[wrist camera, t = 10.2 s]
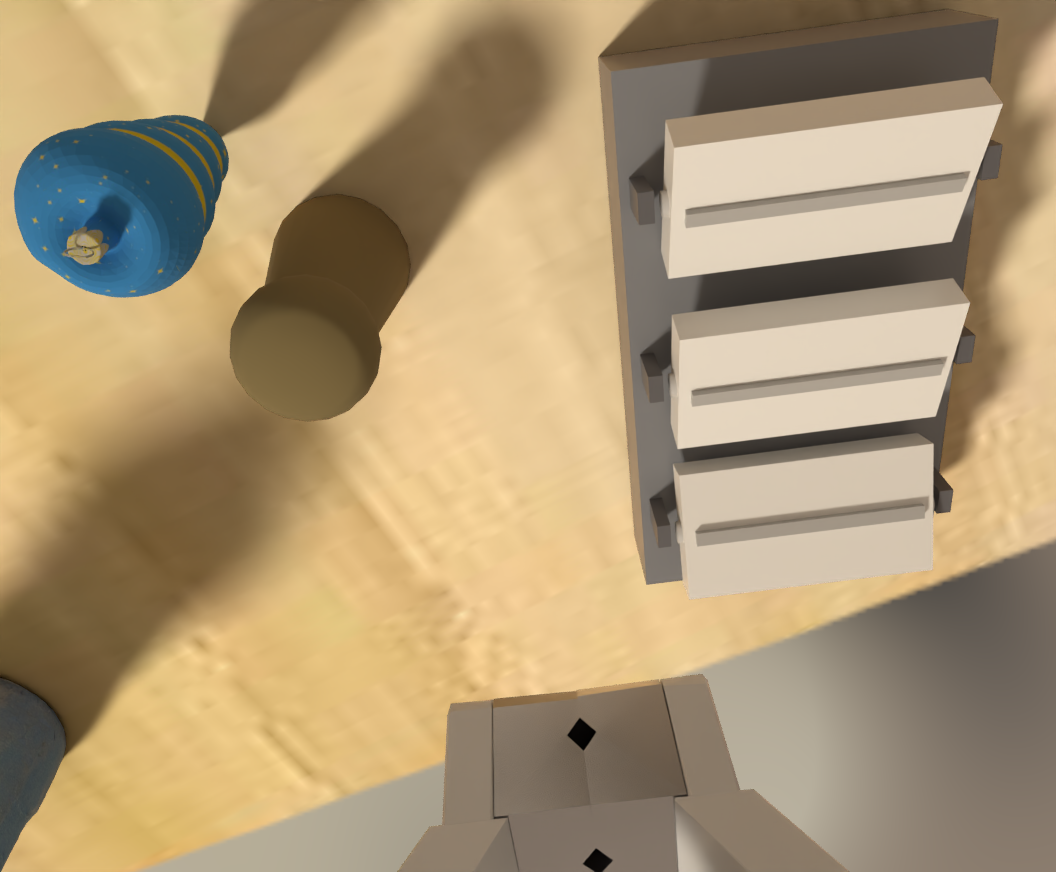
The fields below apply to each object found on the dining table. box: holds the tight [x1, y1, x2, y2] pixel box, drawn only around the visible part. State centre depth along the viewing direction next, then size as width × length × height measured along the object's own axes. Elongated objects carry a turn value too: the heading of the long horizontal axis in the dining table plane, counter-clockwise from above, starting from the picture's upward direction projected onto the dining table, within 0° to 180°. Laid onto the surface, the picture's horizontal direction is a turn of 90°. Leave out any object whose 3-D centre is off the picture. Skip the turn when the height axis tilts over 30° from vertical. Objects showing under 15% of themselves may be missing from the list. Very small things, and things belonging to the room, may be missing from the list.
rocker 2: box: [668, 278, 970, 449], centre depth 36 cm, size 6×11×2 cm, turn 97°
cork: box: [230, 194, 411, 421], centre depth 35 cm, size 6×6×11 cm
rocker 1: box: [659, 77, 1003, 279], centre depth 33 cm, size 6×11×2 cm, turn 96°
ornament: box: [14, 115, 229, 297], centre depth 30 cm, size 5×5×15 cm
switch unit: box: [598, 9, 1002, 585], centre depth 39 cm, size 24×14×6 cm, turn 7°
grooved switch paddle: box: [673, 433, 935, 600], centre depth 40 cm, size 6×11×2 cm, turn 97°
